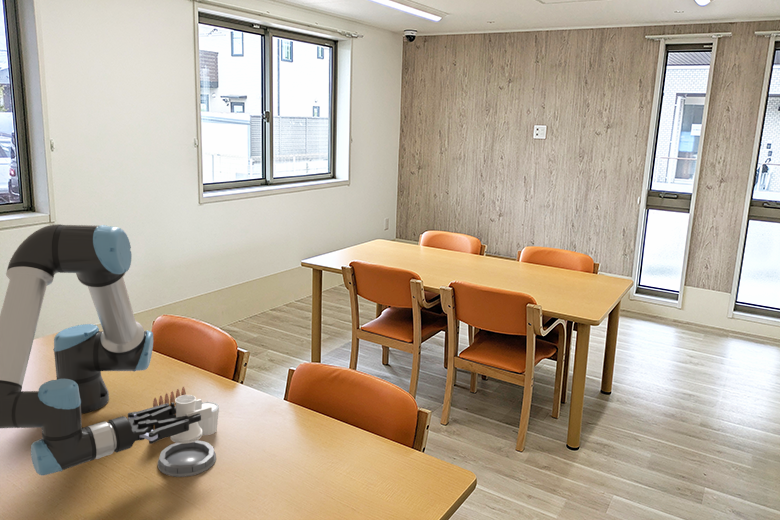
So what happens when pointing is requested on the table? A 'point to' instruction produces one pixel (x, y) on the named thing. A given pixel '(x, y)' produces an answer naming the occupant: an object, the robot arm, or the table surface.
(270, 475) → the table surface
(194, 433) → the vase
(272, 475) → the table surface
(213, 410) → the shot glass
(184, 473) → the socket ring
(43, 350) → the table surface
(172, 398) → the ammunition clip
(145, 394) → the table surface
